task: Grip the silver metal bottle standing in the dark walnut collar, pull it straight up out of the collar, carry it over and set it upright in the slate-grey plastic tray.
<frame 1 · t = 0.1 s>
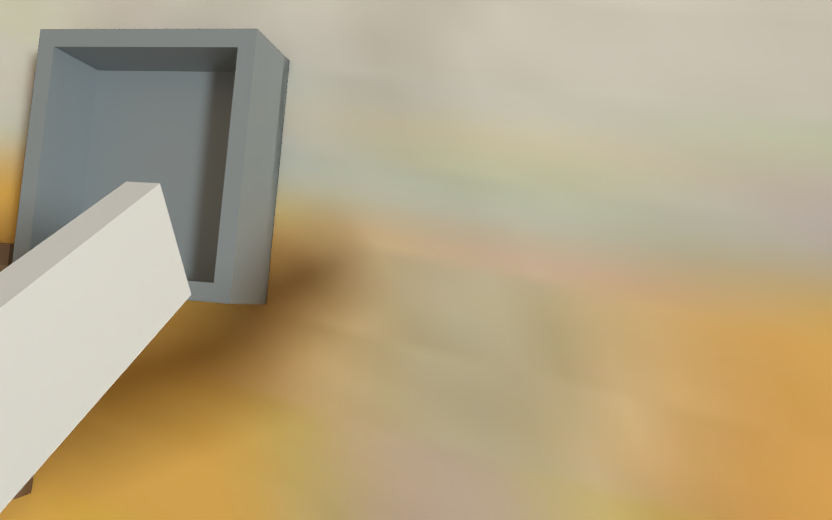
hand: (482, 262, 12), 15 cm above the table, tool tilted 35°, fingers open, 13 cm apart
grey tray: (176, 176, 30), on the table
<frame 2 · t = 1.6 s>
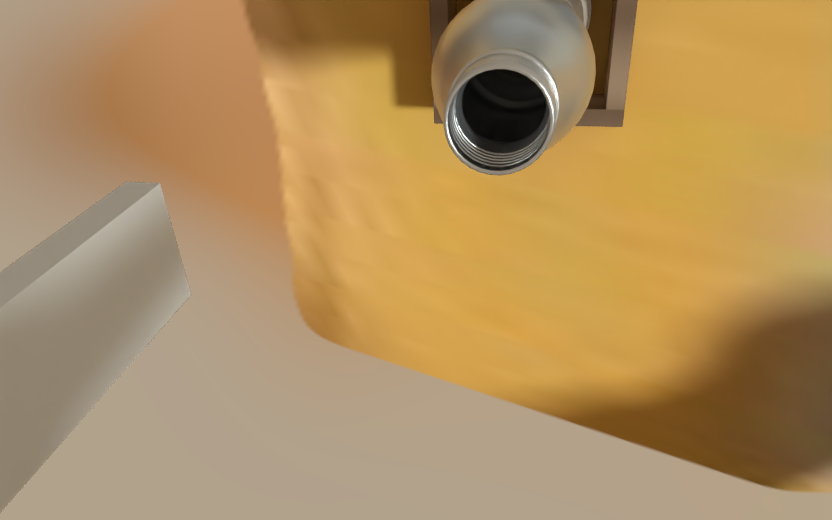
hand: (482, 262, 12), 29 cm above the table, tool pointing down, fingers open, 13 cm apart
walnut collar: (532, 8, 37), on the table
silver metal bottle: (532, 7, 37), resting in walnut collar
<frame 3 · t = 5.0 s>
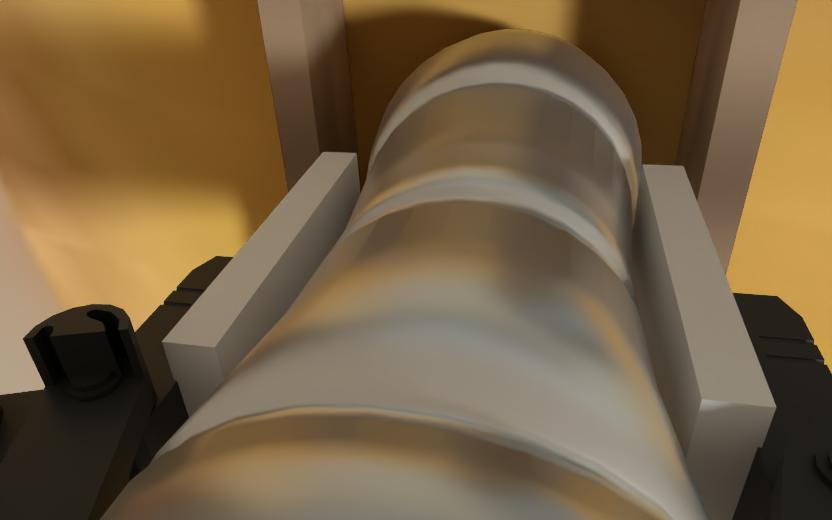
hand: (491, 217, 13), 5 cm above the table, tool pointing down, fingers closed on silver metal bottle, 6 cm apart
walnut collar: (509, 136, 18), on the table
silver metal bottle: (509, 134, 18), resting in walnut collar, touching gripper
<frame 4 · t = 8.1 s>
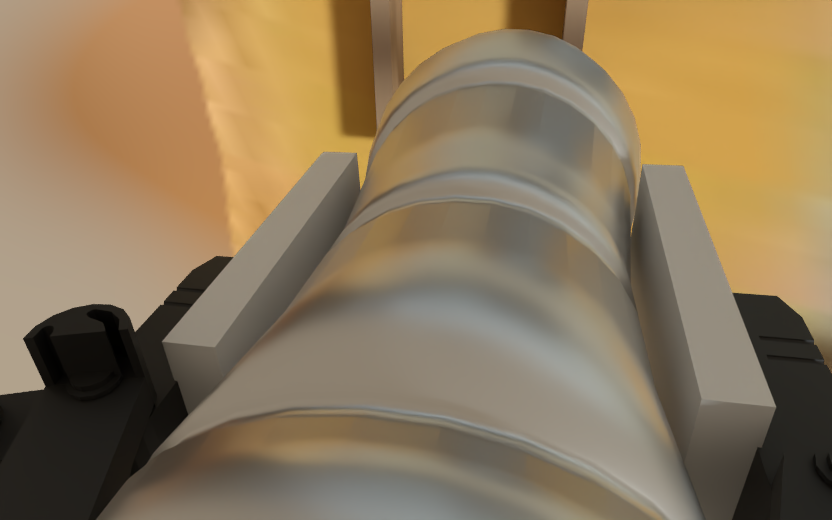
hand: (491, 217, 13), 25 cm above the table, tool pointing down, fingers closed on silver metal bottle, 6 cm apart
walnut collar: (480, 44, 36), on the table
silver metal bottle: (509, 134, 18), point 20 cm above the table, touching gripper
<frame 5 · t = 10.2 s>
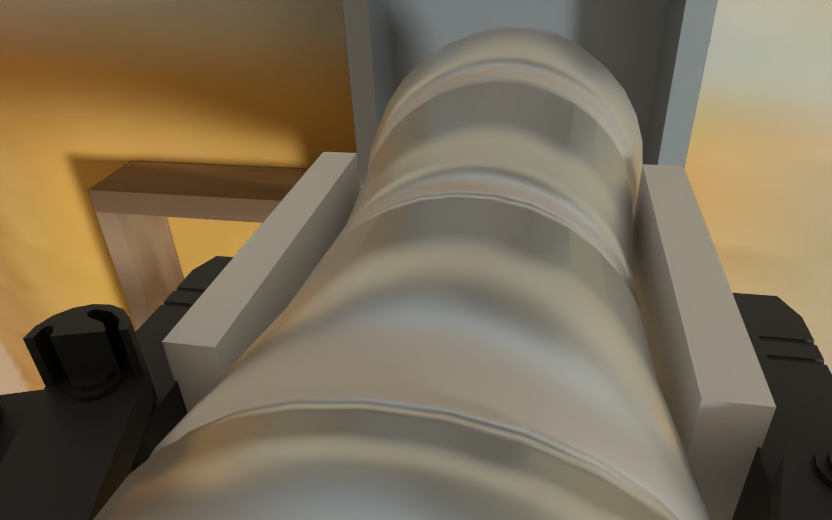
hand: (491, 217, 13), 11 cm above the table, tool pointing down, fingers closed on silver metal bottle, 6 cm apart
grey tray: (521, 76, 22), on the table
walnut collar: (268, 282, 30), on the table
silver metal bottle: (510, 132, 18), point 6 cm above the table, touching gripper
when the fingers open (7 cm above the table, at t = 11.6 s): silver metal bottle drops 2 cm, resting on grey tray.
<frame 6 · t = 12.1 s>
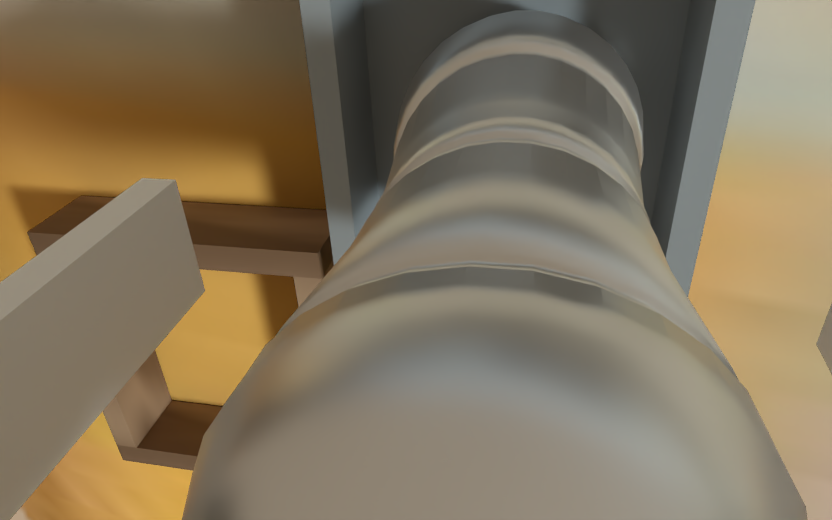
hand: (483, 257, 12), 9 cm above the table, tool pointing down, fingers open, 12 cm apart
grey tray: (515, 107, 20), on the table
walnut collar: (237, 327, 27), on the table
silver metal bottle: (518, 110, 19), resting on grey tray
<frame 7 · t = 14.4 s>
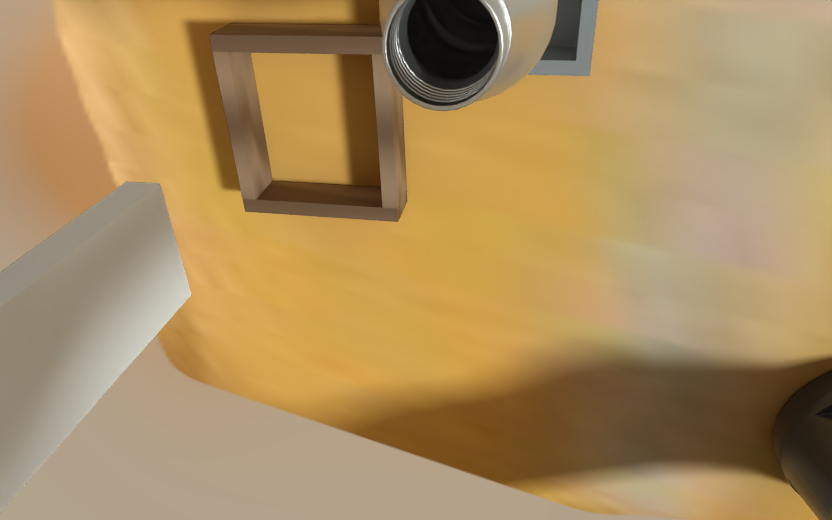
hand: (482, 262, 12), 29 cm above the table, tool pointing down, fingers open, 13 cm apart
walnut collar: (323, 117, 42), on the table
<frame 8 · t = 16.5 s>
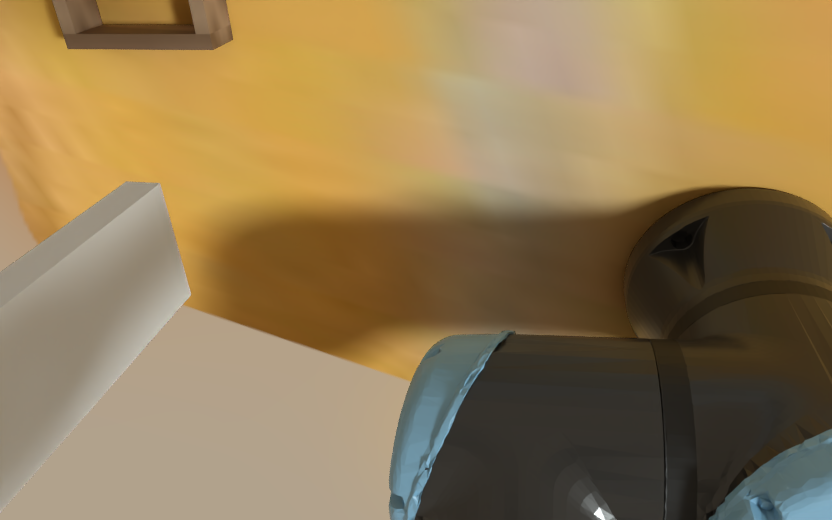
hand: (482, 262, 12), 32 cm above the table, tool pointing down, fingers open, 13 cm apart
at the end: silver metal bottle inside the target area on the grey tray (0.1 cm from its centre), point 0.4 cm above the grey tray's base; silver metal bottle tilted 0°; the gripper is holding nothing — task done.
